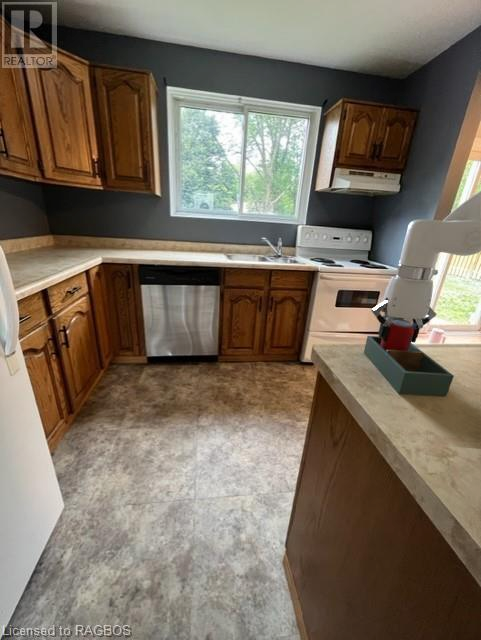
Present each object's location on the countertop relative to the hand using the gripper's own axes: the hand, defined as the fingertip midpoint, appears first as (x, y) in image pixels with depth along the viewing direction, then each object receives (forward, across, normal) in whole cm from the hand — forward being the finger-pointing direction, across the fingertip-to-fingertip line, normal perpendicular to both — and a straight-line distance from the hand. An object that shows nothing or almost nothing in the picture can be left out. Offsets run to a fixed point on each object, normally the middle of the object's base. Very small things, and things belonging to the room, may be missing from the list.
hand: (396, 339), depth 73 cm
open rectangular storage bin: (+7, 0, +5) cm, 9 cm away
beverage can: (+7, 0, 0) cm, 7 cm away
